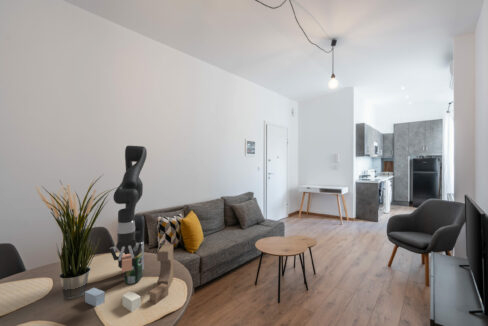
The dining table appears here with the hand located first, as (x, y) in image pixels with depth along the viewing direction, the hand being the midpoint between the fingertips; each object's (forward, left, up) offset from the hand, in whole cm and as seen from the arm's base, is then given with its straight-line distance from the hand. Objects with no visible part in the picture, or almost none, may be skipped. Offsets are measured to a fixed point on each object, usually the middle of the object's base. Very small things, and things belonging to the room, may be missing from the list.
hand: (126, 266), depth 109 cm
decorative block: (+5, +19, -16) cm, 25 cm away
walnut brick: (+12, +10, -16) cm, 22 cm away
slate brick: (-10, -9, -16) cm, 21 cm away
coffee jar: (-14, +12, -16) cm, 24 cm away
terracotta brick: (0, 0, -1) cm, 1 cm away
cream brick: (+7, -1, -16) cm, 17 cm away
